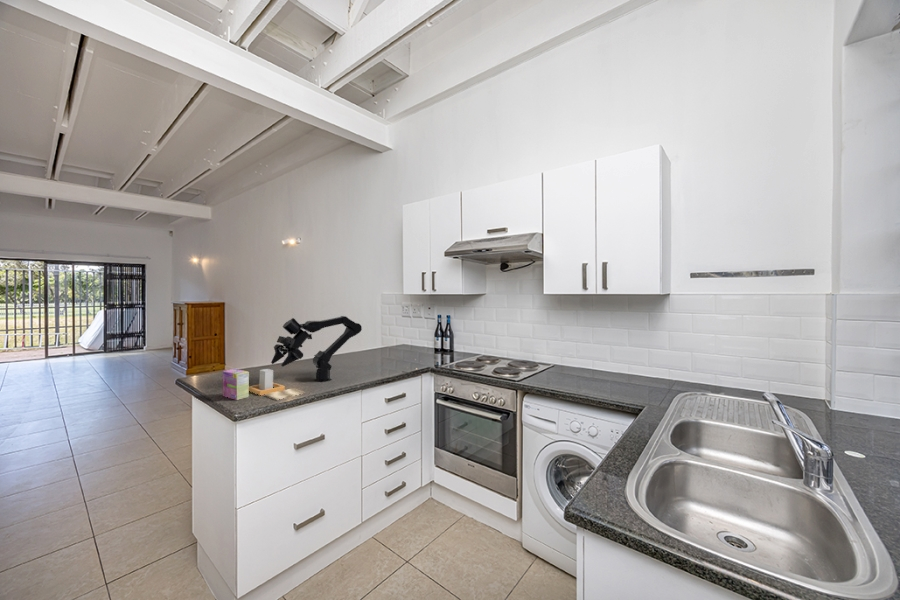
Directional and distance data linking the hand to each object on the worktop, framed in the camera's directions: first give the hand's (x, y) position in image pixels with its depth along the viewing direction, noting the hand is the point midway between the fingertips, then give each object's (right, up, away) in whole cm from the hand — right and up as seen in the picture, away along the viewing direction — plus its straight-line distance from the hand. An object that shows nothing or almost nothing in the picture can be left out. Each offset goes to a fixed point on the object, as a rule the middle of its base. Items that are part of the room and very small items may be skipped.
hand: (276, 364), depth 180 cm
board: (+8, -12, -10) cm, 18 cm away
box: (-11, -12, -15) cm, 23 cm away
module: (-3, -12, -4) cm, 13 cm away
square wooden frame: (-3, -12, -4) cm, 13 cm away
